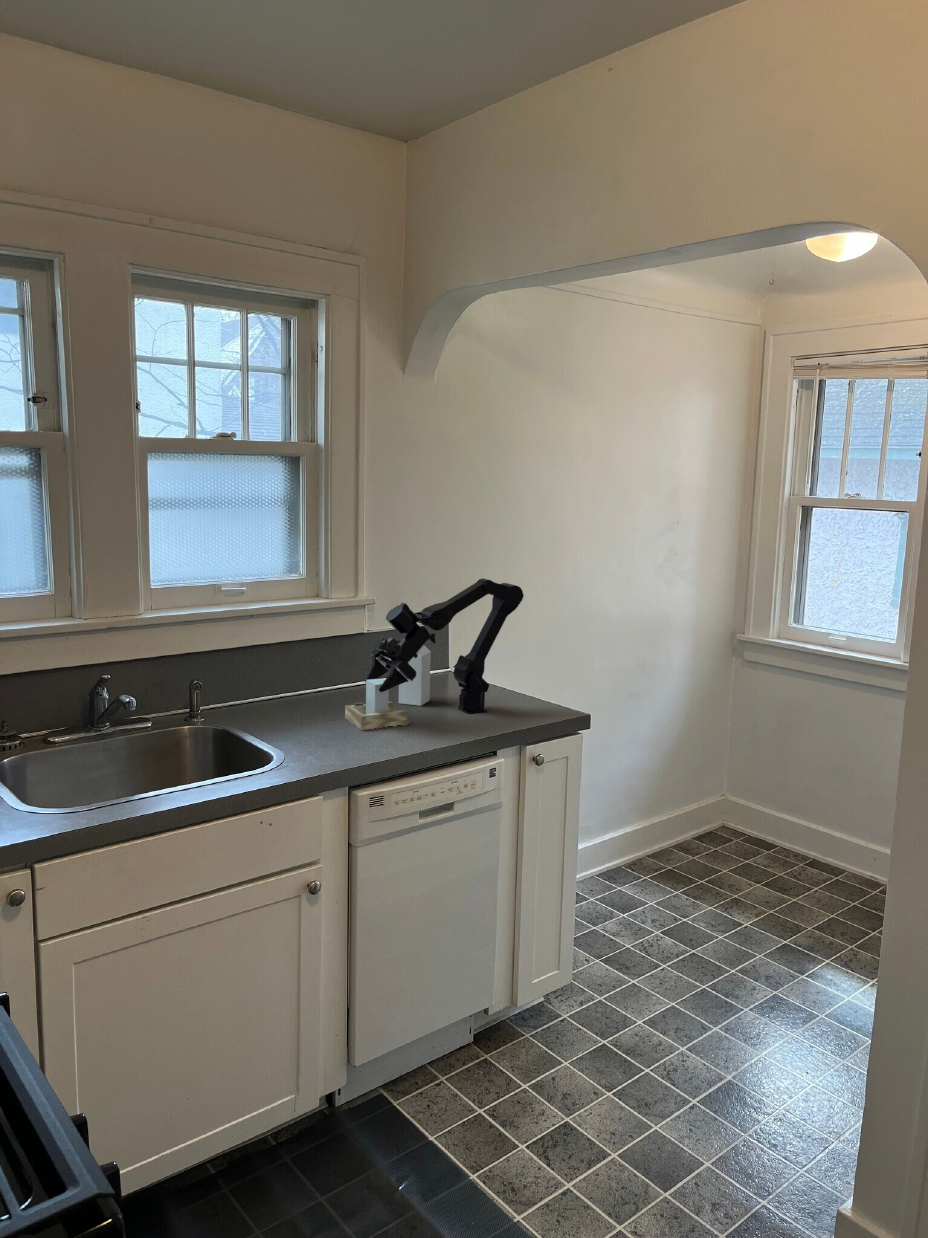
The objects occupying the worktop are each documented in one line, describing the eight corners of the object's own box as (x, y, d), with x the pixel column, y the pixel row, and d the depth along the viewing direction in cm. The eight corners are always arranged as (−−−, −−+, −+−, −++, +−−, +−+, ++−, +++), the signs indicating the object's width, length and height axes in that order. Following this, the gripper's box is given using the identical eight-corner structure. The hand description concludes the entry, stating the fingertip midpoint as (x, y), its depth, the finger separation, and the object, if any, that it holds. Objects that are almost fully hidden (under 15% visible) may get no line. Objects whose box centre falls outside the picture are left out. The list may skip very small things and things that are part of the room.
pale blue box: (379, 713, 257) (379, 678, 256) (388, 719, 252) (388, 683, 251) (365, 715, 256) (366, 679, 254) (374, 721, 250) (375, 684, 249)
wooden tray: (391, 713, 263) (391, 698, 262) (409, 724, 252) (409, 709, 252) (345, 718, 256) (345, 703, 255) (361, 730, 246) (361, 714, 245)
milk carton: (429, 700, 277) (431, 638, 274) (420, 706, 271) (422, 642, 267) (407, 698, 280) (409, 636, 276) (398, 703, 273) (399, 640, 270)
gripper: (377, 619, 260) (340, 661, 256) (406, 631, 243) (367, 676, 240) (402, 645, 265) (366, 686, 261) (432, 658, 249) (394, 702, 245)
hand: (372, 687), depth 252 cm, fingers open, 9 cm apart
